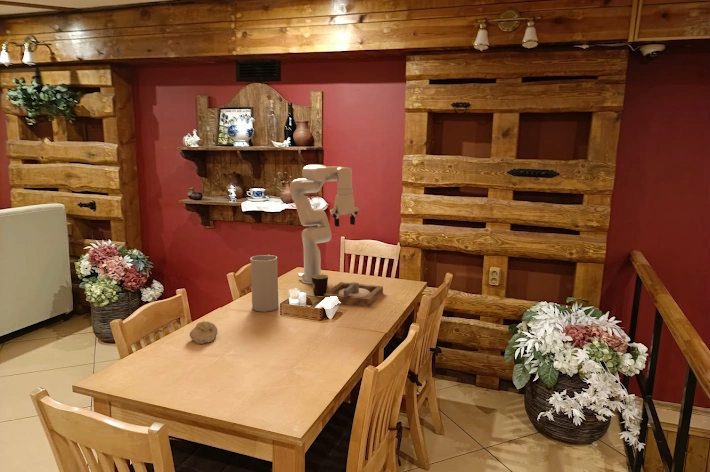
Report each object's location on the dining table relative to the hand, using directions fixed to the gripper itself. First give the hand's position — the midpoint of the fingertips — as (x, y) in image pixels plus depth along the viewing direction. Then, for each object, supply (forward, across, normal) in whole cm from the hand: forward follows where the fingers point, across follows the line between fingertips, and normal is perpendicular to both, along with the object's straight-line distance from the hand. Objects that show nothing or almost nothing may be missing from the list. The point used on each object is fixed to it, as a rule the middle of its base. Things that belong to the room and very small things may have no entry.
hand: (344, 225), depth 258 cm
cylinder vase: (+38, +43, -6) cm, 57 cm away
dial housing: (+37, -1, +6) cm, 38 cm away
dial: (+35, +1, +8) cm, 36 cm away
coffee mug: (+38, +9, -9) cm, 40 cm away
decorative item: (+38, +81, +15) cm, 91 cm away
